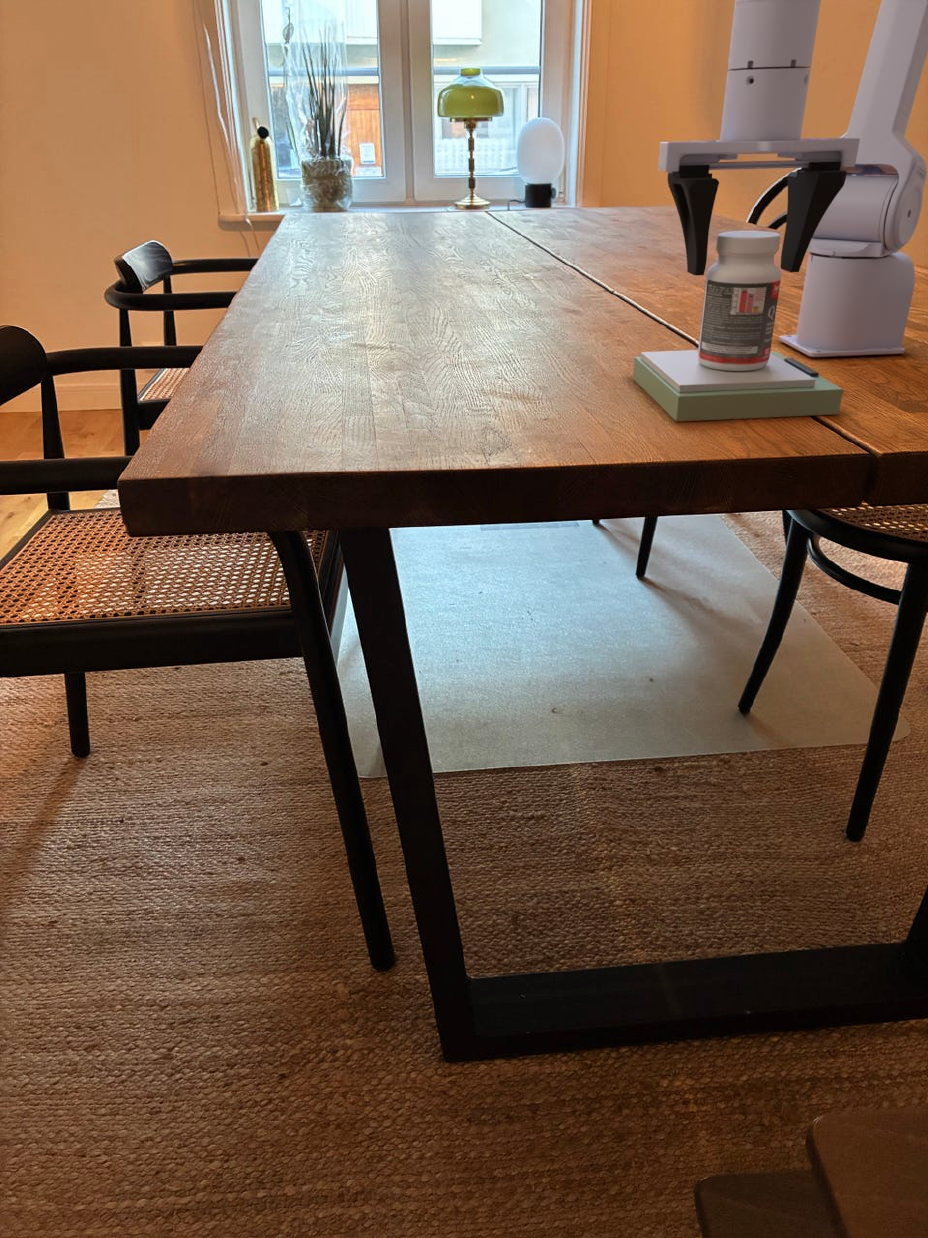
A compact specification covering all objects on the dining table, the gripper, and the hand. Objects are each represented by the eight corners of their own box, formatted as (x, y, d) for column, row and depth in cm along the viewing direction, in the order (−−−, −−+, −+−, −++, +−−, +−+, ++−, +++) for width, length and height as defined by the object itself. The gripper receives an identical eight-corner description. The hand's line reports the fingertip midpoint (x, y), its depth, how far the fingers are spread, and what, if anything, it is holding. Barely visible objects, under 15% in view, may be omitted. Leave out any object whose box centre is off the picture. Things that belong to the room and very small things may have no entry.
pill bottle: (777, 372, 71) (798, 237, 66) (707, 373, 71) (722, 238, 66) (755, 355, 76) (773, 228, 71) (689, 356, 76) (702, 230, 71)
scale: (773, 373, 81) (777, 344, 80) (838, 414, 69) (845, 381, 68) (632, 379, 80) (634, 349, 79) (676, 421, 69) (679, 388, 67)
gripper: (687, 68, 60) (667, 282, 66) (894, 65, 61) (855, 276, 67) (657, 73, 66) (642, 269, 73) (846, 70, 67) (814, 263, 74)
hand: (742, 271), depth 70 cm, fingers open, 7 cm apart
